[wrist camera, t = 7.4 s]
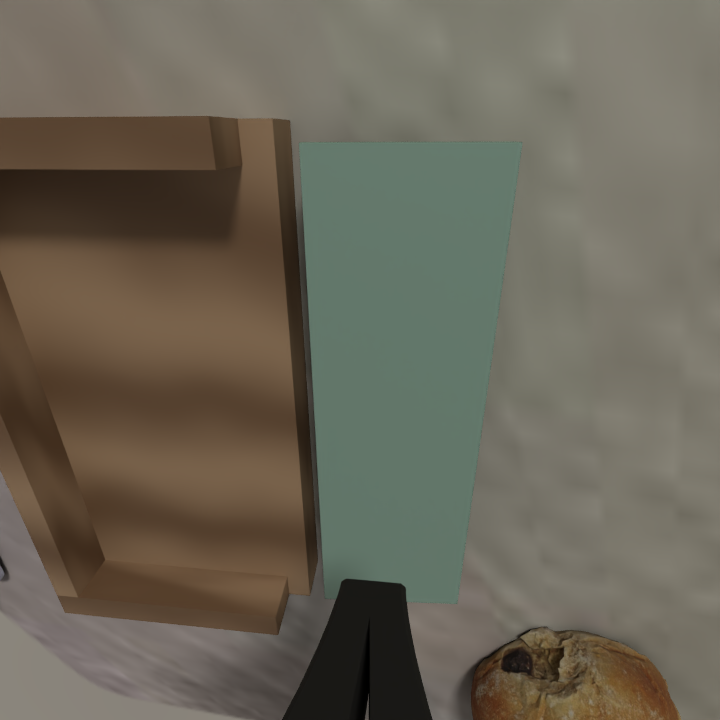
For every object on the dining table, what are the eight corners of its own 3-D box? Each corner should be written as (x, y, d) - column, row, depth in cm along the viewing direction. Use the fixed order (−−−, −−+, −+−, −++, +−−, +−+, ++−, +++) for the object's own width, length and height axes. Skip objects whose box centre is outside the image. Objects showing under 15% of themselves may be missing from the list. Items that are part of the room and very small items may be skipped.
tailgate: (328, 568, 22) (452, 573, 22) (324, 598, 21) (457, 603, 20) (307, 141, 14) (507, 141, 14) (299, 142, 12) (522, 141, 12)
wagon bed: (317, 560, 23) (300, 637, 20) (116, 542, 24) (65, 612, 21) (290, 120, 14) (249, 115, 11) (-27, 122, 15) (-159, 118, 12)
